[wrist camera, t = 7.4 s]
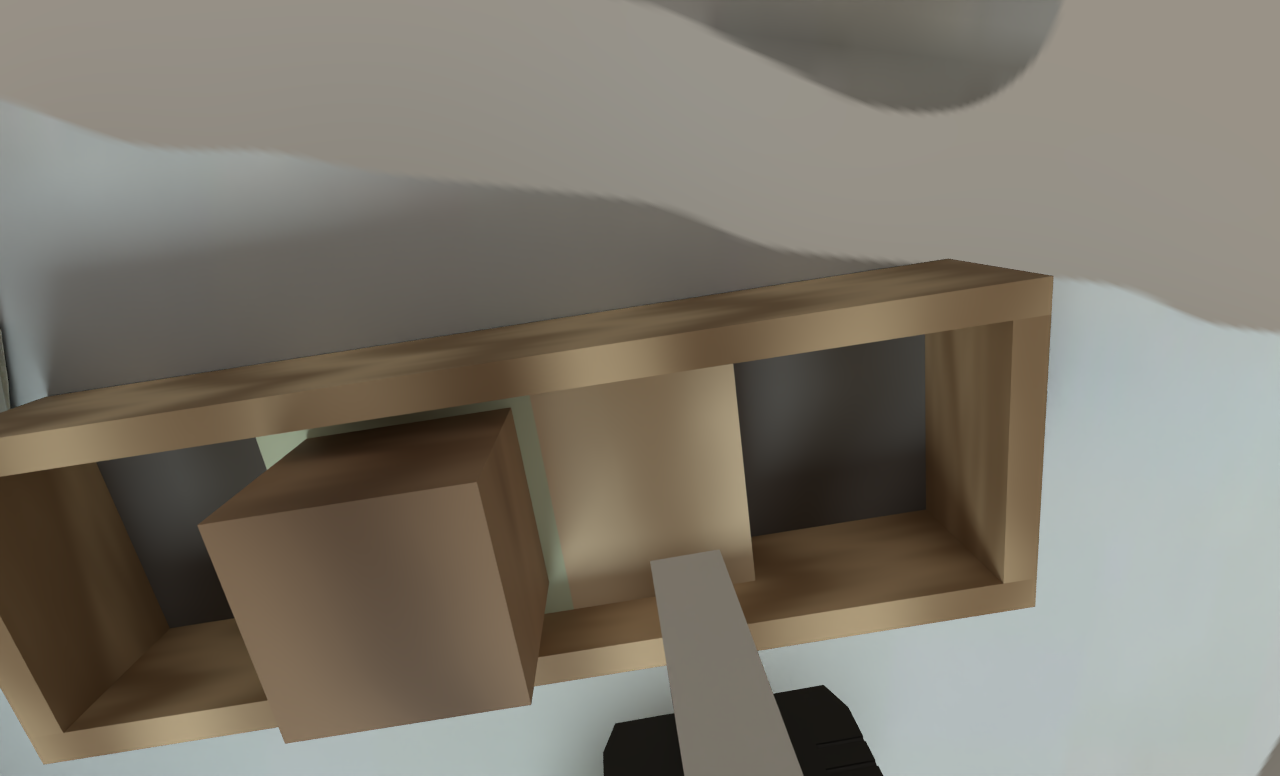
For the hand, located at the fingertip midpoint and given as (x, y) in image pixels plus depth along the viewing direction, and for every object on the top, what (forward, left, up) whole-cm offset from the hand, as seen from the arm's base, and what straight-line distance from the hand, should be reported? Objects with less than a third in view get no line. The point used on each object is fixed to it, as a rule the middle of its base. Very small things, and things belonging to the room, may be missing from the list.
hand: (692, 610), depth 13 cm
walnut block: (-7, 0, -6) cm, 9 cm away
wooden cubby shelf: (-5, 0, -9) cm, 10 cm away
